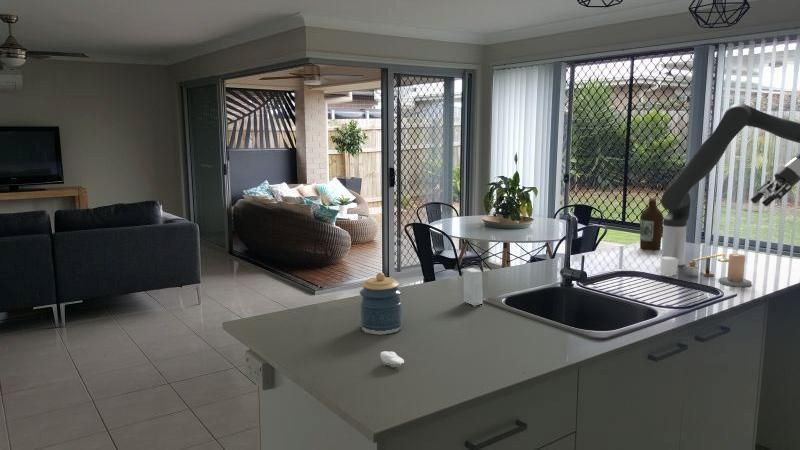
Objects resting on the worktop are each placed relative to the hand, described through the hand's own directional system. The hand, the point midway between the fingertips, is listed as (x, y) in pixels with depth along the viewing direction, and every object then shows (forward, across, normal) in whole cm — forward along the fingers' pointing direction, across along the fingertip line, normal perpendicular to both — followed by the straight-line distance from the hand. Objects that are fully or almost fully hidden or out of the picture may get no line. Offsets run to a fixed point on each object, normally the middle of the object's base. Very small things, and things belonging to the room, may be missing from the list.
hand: (758, 203), depth 225 cm
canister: (+120, +60, -76) cm, 154 cm away
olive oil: (+34, -66, +10) cm, 75 cm away
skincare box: (+99, +33, -56) cm, 118 cm away
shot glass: (+41, -11, +2) cm, 43 cm away
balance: (+30, -10, +13) cm, 35 cm away
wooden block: (+26, +3, +16) cm, 31 cm away
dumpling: (+116, +89, -72) cm, 163 cm away
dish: (+27, +3, +16) cm, 32 cm away
